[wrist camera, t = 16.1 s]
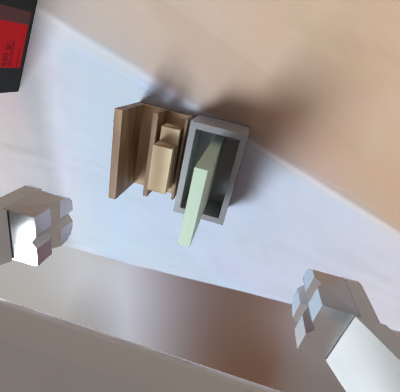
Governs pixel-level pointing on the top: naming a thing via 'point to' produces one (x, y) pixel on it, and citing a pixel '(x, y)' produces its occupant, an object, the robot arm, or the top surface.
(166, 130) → the offcut lower
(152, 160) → the offcut upper
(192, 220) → the sheet
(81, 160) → the top surface
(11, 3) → the cleaning product box
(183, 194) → the bin
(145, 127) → the rack
